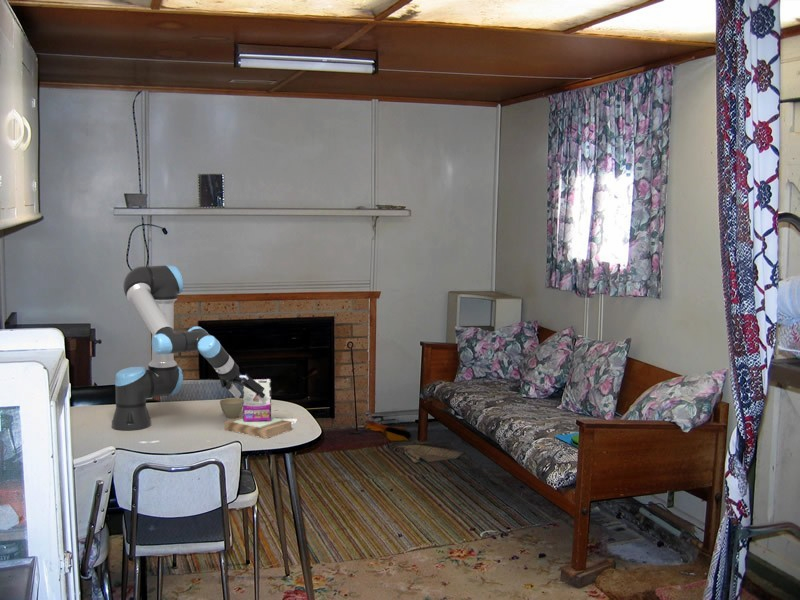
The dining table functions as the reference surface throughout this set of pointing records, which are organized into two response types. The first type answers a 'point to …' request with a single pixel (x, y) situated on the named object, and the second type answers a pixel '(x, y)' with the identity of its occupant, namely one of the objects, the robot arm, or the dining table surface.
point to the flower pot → (231, 407)
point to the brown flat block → (256, 431)
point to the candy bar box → (257, 403)
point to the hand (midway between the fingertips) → (252, 398)
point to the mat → (258, 422)
